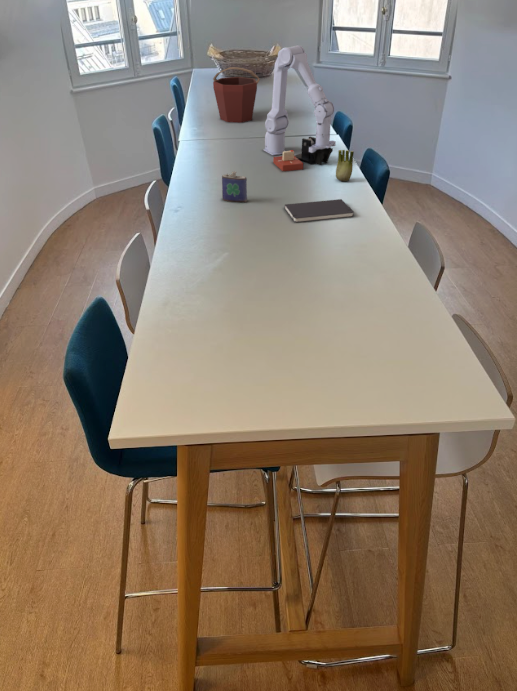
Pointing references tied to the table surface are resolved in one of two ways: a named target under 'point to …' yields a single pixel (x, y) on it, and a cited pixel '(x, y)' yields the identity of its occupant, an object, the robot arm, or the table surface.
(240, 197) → the flask
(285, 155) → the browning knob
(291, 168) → the dial panel
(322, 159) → the lever
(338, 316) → the table surface
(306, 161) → the black lever mount
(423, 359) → the table surface
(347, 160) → the fennel bulb
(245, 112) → the bucket
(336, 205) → the notebook
